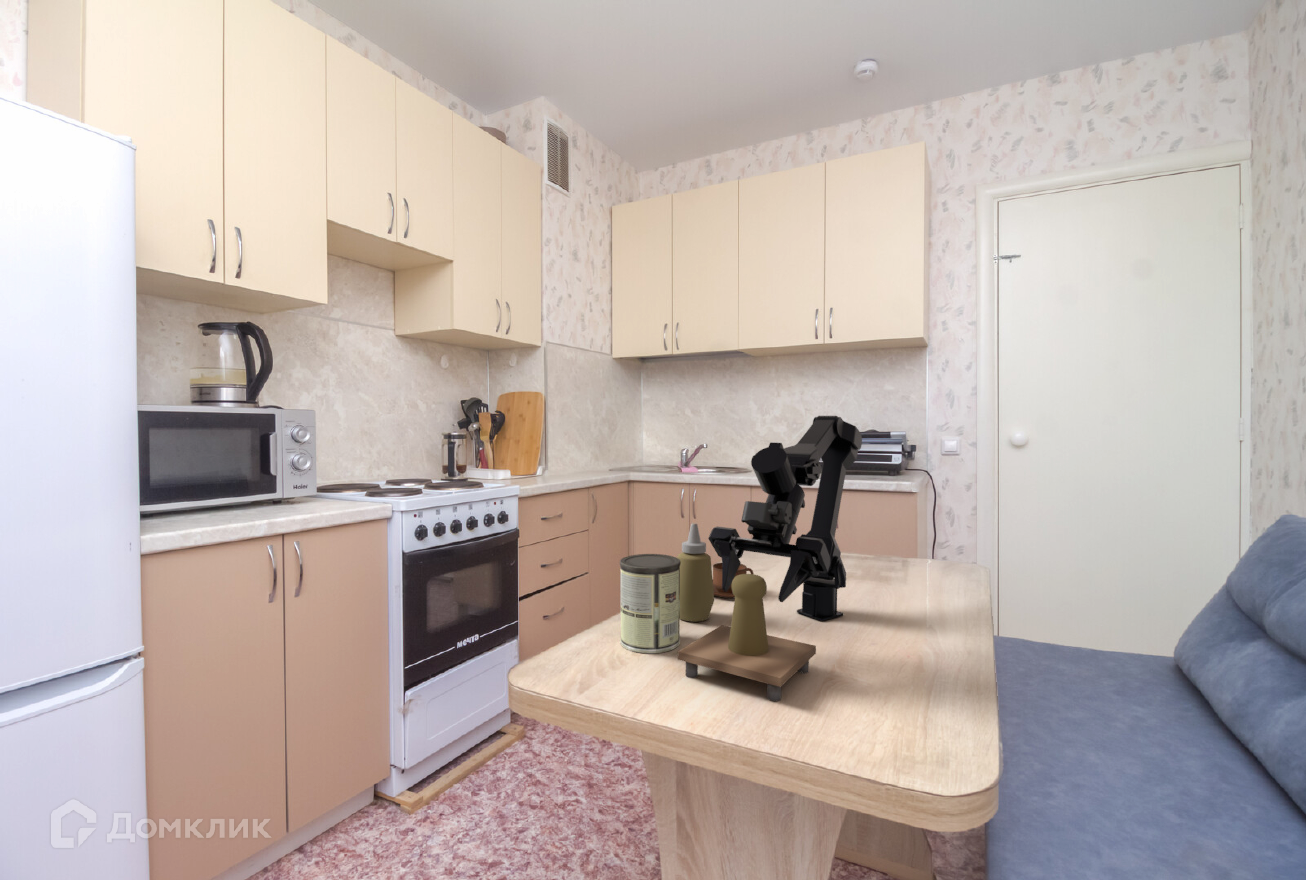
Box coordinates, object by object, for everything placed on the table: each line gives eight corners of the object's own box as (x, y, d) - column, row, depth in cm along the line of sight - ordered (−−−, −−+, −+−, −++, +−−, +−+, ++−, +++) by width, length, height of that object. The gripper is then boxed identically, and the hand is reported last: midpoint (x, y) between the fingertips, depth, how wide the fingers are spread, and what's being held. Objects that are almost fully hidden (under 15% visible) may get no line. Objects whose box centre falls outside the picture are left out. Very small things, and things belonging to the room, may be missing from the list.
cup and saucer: (725, 583, 141) (725, 557, 140) (768, 594, 132) (768, 566, 132) (690, 593, 132) (690, 565, 132) (734, 606, 124) (734, 576, 124)
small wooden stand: (677, 676, 89) (677, 651, 89) (721, 646, 101) (721, 625, 101) (780, 705, 80) (780, 678, 80) (815, 669, 92) (815, 645, 92)
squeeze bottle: (669, 611, 119) (670, 520, 119) (709, 610, 120) (711, 520, 120) (674, 625, 111) (676, 527, 111) (718, 624, 112) (719, 527, 112)
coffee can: (632, 628, 109) (632, 551, 109) (687, 635, 106) (687, 556, 106) (609, 649, 100) (610, 564, 99) (669, 657, 96) (670, 570, 96)
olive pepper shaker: (774, 645, 92) (775, 573, 91) (759, 659, 87) (761, 583, 86) (737, 638, 95) (738, 568, 94) (721, 650, 90) (722, 577, 89)
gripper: (714, 478, 100) (678, 557, 91) (825, 485, 90) (797, 575, 81) (735, 518, 107) (704, 595, 98) (840, 530, 96) (816, 617, 88)
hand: (751, 595), depth 91 cm, fingers open, 9 cm apart
